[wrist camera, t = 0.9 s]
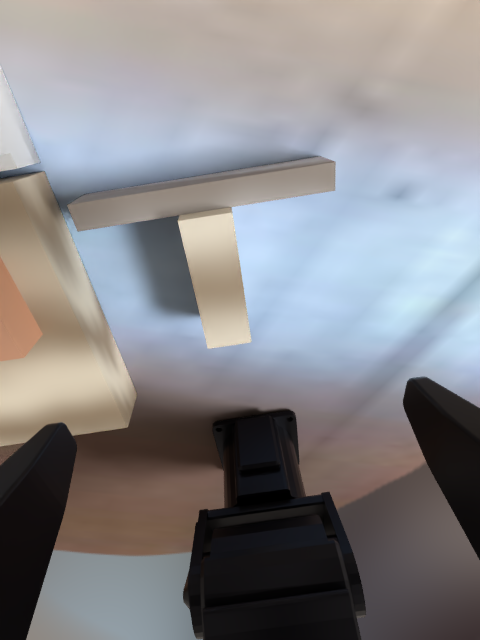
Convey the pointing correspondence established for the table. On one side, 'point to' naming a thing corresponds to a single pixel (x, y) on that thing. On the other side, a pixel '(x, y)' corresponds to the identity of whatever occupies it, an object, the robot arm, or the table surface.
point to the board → (56, 325)
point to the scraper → (208, 227)
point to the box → (13, 133)
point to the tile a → (15, 320)
